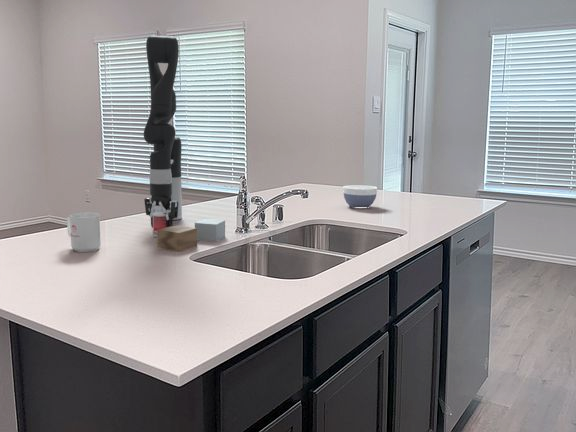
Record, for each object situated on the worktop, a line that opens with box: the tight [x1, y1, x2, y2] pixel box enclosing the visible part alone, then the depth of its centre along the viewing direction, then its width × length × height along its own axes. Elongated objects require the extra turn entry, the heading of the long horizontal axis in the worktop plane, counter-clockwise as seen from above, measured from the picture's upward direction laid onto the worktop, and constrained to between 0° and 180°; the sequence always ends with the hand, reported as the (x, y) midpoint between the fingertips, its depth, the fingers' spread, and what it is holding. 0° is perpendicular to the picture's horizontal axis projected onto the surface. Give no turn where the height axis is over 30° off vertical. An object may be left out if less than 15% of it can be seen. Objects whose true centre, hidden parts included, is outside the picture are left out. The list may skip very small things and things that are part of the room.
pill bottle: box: [152, 206, 169, 239], centre depth 206 cm, size 6×6×11 cm
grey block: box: [194, 218, 226, 243], centre depth 205 cm, size 8×8×6 cm
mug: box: [66, 212, 102, 253], centre depth 186 cm, size 12×9×11 cm
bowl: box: [342, 184, 378, 208], centre depth 275 cm, size 16×16×10 cm
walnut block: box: [156, 224, 198, 252], centre depth 192 cm, size 9×9×6 cm
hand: (161, 228), depth 207 cm, fingers closed on pill bottle, 6 cm apart
